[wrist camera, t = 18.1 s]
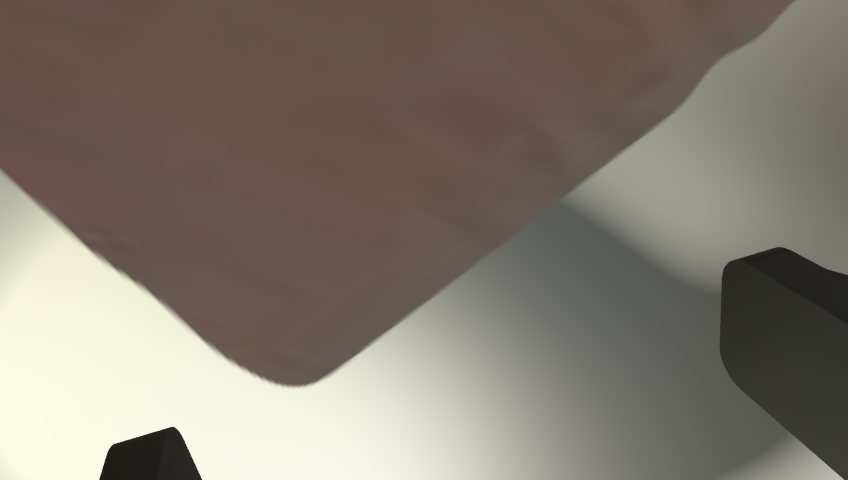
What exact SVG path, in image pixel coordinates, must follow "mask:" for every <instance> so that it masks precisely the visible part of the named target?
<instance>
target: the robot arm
mask: <svg viewBox="0 0 848 480" xmlns="http://www.w3.org/2000/svg"><path fill="white" fill-rule="evenodd" d="M720 353H721V358H722V361H723V364H724V366H725V368H726V370H727V372H728V374H729V376H730V377H731V379H732V380H733V382H734V383H735V384H736V385H737V386H738V387H739V388H740V389H741V390H742V391H743V392H744V393H745V394H747V395H748V396H749V397H750V398H751V399H752V400H754V401H755V402H756V403H757V404H758V405H759V406H760V407H762V408H763V409H764V410H765V411H766V412H767V413H769V414H770V415H771V416H772V417H773V418H774V419H775V420H776V421H778V422H779V423H780V424H781V425H782V426H783V427H785V428H786V429H787V430H788V431H789V432H790V433H791V434H793V435H794V436H795V437H796V438H797V439H798V440H799V441H801V442H802V443H803V444H804V445H805V446H806V447H807V448H809V449H810V450H811V451H812V452H813V453H815V454H816V455H817V456H818V457H819V458H820V459H821V460H822V461H824V462H825V463H826V464H827V465H828V466H829V467H830V468H832V469H833V470H834V471H835V472H836V473H837V474H839V475H840V476H841V477H842V478H843V479H844V480H848V275H845V274H842V273H838V272H835V271H831V270H827V269H825V268H823V267H821V266H819V265H817V264H815V263H813V262H812V261H809V260H808V259H806V258H804V257H802V256H800V255H798V254H797V253H795V252H793V251H791V250H789V249H786V248H782V247H777V248H773V249H770V250H766V251H763V252H760V253H756V254H753V255H750V256H746V257H743V258H740V259H736V260H733V261H730V262H729V263H728V264H727V265H726V266H725V268H724V270H723V274H722V293H721V323H720ZM99 480H202V479H201V476H200V474H199V472H198V470H197V468H196V465H195V463H194V461H193V459H192V457H191V454H190V452H189V450H188V448H187V446H186V444H185V441H184V439H183V437H182V435H181V434H180V432H179V431H178V430H177V429H176V428H175V427H170V428H167V429H163V430H160V431H157V432H153V433H150V434H146V435H143V436H140V437H136V438H133V439H130V440H126V441H123V442H120V443H116V444H113V445H112V446H111V447H110V449H109V451H108V453H107V456H106V459H105V463H104V466H103V469H102V473H101V476H100V479H99Z"/></svg>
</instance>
